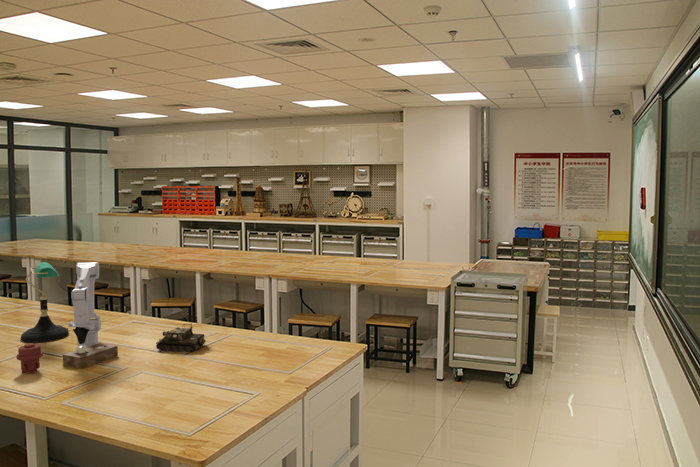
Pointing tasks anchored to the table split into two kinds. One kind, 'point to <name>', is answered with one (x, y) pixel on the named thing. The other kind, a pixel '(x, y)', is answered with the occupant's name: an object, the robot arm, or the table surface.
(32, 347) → the mechanical component
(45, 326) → the banker's lamp
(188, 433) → the table surface
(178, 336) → the model tank
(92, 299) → the robot arm
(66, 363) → the walnut block
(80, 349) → the peg
